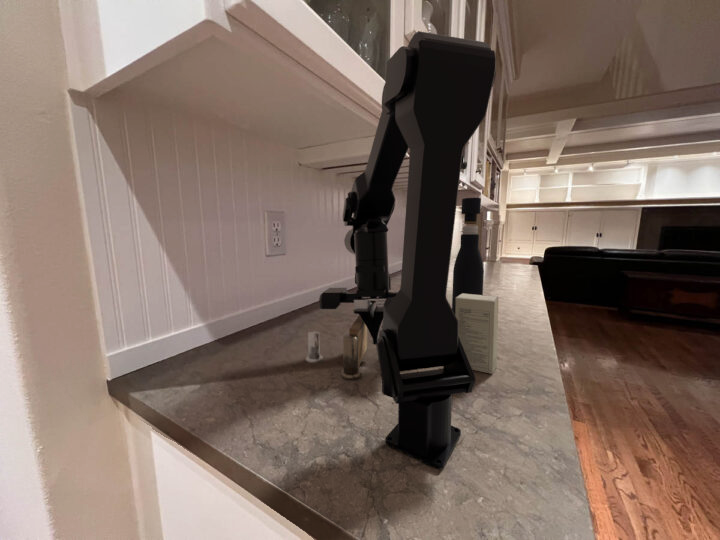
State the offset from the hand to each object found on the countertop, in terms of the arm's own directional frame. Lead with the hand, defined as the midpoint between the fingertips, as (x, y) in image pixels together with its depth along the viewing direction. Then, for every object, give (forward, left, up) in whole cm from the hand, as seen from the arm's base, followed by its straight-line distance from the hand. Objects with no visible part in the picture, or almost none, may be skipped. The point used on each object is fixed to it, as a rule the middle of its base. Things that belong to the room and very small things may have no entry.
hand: (375, 343), depth 53 cm
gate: (-2, +2, -3) cm, 4 cm away
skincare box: (+7, -16, -3) cm, 18 cm away
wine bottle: (+23, -10, -3) cm, 25 cm away
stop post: (-7, +9, -3) cm, 12 cm away
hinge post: (-8, 0, -3) cm, 8 cm away
